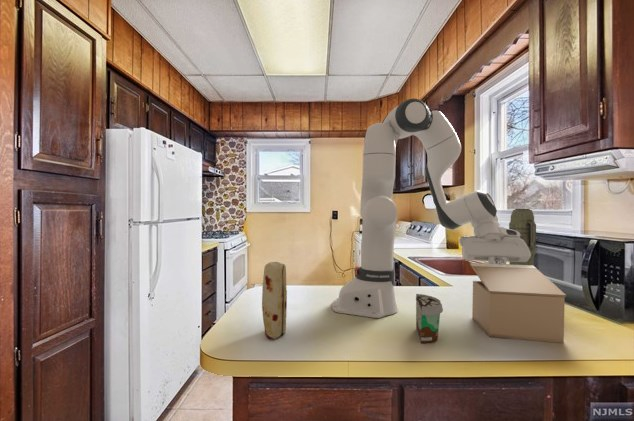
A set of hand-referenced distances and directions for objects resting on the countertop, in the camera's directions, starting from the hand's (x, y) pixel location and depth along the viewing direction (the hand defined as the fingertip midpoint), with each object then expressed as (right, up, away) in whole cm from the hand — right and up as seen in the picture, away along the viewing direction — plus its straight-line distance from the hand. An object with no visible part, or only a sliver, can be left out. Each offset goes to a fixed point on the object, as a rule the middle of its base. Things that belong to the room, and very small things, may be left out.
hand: (500, 270), depth 96 cm
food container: (-28, -15, -14) cm, 35 cm away
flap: (-1, -1, -8) cm, 8 cm away
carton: (-2, -15, -9) cm, 18 cm away
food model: (-71, -15, -14) cm, 73 cm away
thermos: (+21, -15, +22) cm, 34 cm away
